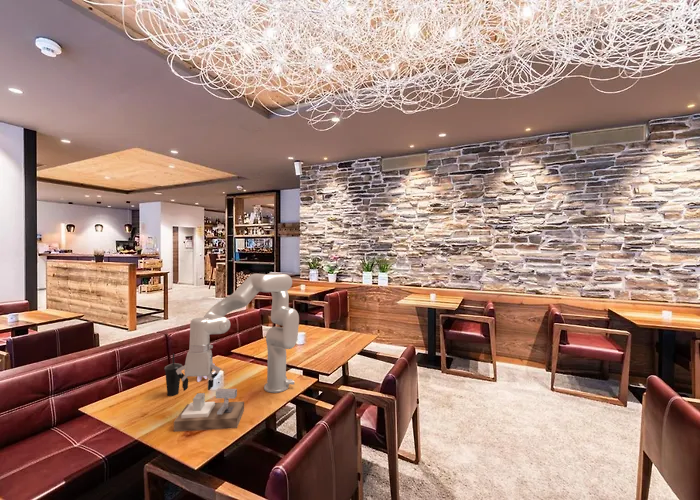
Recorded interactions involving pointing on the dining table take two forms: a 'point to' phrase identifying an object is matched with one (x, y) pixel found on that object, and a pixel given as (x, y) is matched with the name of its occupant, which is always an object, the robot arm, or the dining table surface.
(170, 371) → the drinking cup
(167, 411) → the dining table surface
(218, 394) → the latch
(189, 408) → the cover
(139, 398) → the dining table surface
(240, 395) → the dining table surface
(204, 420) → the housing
